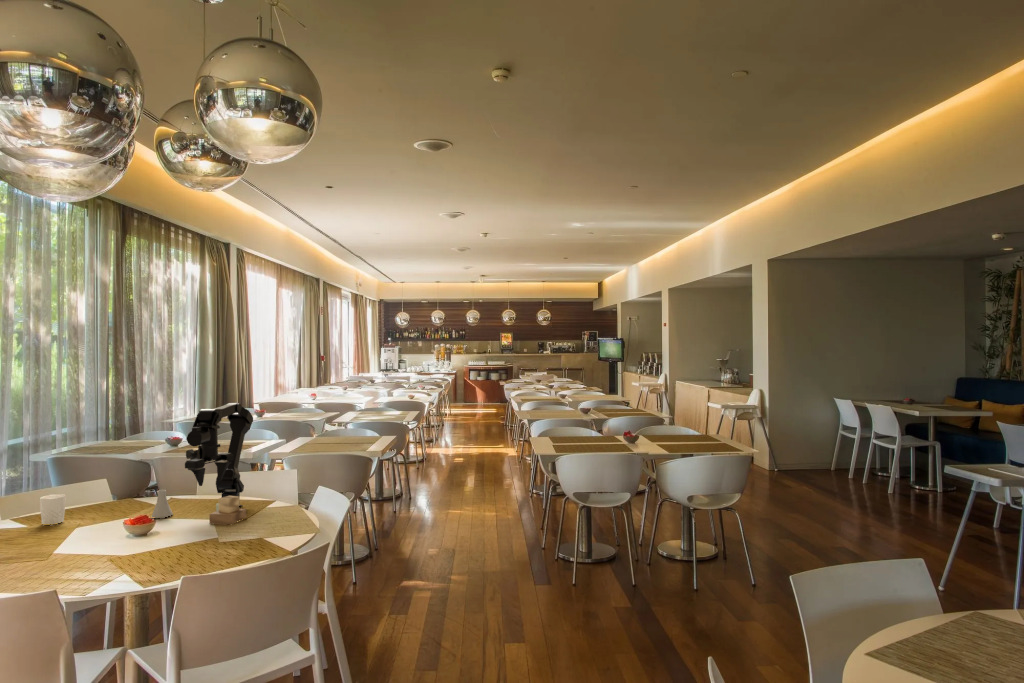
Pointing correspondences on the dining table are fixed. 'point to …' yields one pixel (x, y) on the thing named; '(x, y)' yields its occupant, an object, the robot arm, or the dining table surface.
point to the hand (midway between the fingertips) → (210, 483)
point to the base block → (227, 517)
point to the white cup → (52, 508)
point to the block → (217, 506)
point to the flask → (162, 506)
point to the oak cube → (229, 504)
